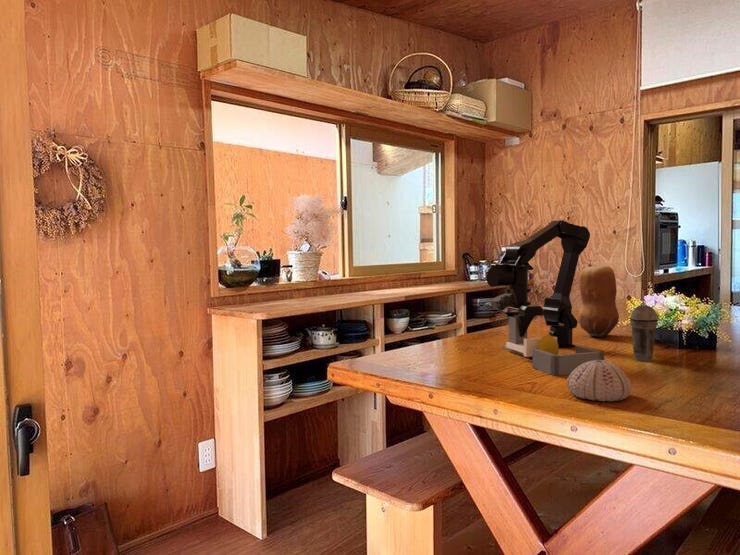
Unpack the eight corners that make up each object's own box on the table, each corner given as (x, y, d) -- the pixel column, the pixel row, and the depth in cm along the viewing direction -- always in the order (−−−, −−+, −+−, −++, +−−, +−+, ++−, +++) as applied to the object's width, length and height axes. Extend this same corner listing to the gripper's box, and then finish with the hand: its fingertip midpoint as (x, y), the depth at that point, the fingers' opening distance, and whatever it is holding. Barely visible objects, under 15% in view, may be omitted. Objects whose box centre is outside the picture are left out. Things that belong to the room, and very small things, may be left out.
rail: (512, 347, 184) (512, 344, 184) (540, 357, 169) (540, 353, 168) (501, 348, 183) (501, 345, 183) (528, 358, 167) (528, 354, 167)
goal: (579, 363, 160) (580, 345, 159) (604, 371, 150) (604, 352, 150) (532, 367, 155) (532, 349, 155) (554, 375, 146) (554, 356, 145)
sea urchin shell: (633, 407, 118) (633, 369, 118) (564, 401, 124) (564, 364, 123) (631, 391, 131) (631, 356, 130) (568, 386, 136) (568, 353, 135)
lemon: (556, 360, 164) (556, 332, 163) (560, 364, 158) (560, 336, 158) (536, 360, 164) (536, 332, 164) (540, 364, 159) (540, 336, 158)
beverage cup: (660, 359, 163) (662, 289, 162) (652, 363, 158) (654, 291, 157) (634, 356, 168) (635, 288, 167) (625, 360, 163) (626, 290, 162)
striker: (528, 345, 180) (528, 315, 179) (557, 354, 166) (557, 321, 165) (500, 347, 177) (500, 317, 177) (526, 356, 163) (526, 323, 162)
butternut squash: (577, 332, 210) (578, 264, 208) (617, 334, 205) (618, 264, 204) (578, 339, 197) (578, 266, 195) (620, 340, 192) (621, 266, 191)
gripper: (480, 283, 182) (480, 332, 183) (510, 288, 164) (510, 342, 165) (511, 282, 185) (511, 330, 186) (544, 287, 167) (543, 340, 168)
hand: (518, 335), depth 176 cm, fingers closed on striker, 4 cm apart
